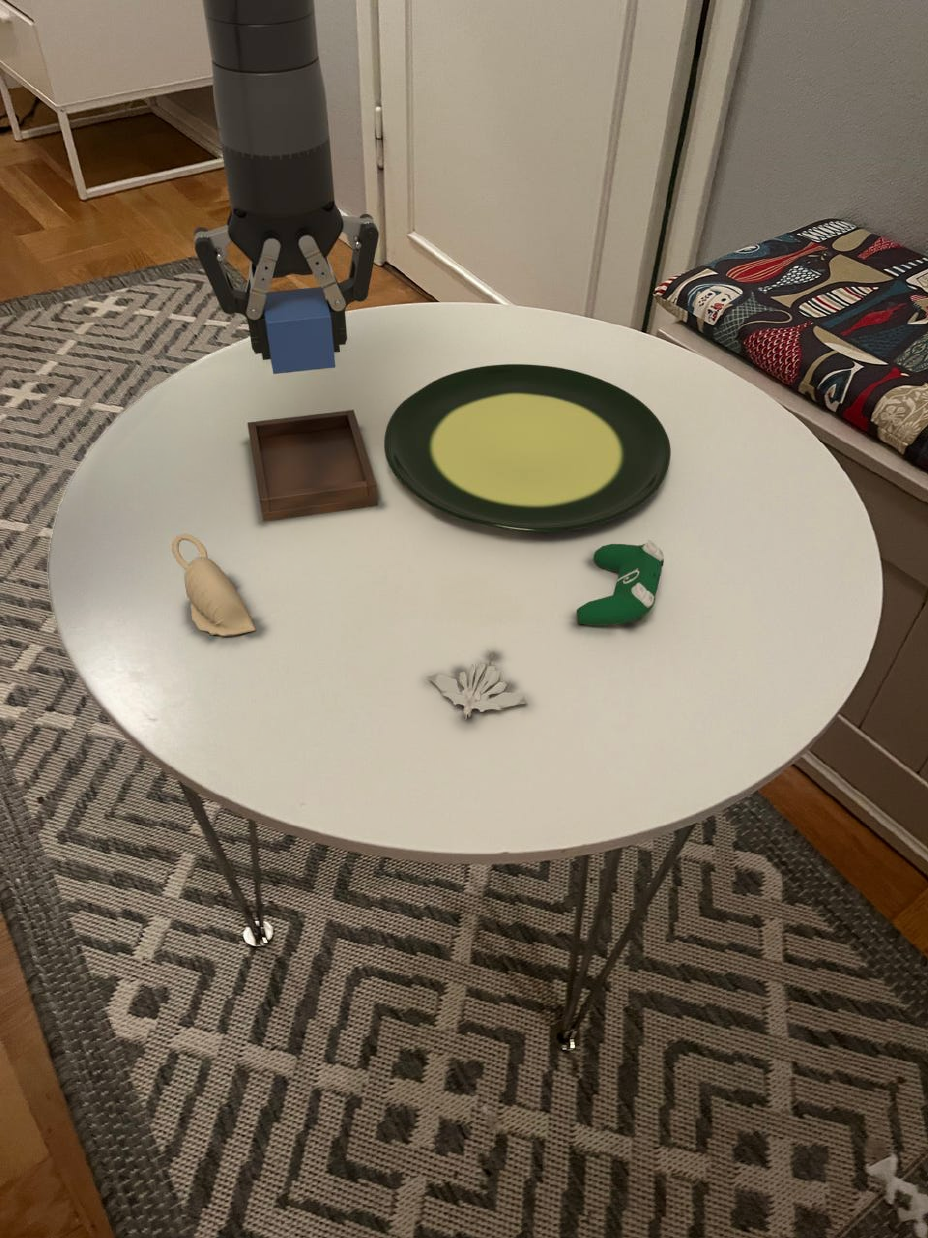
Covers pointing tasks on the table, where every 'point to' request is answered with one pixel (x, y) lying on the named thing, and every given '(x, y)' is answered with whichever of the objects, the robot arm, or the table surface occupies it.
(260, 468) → the tray
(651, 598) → the green christmas stocking
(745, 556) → the table surface
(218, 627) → the decorative ornament
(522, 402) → the plate
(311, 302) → the cube
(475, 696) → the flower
